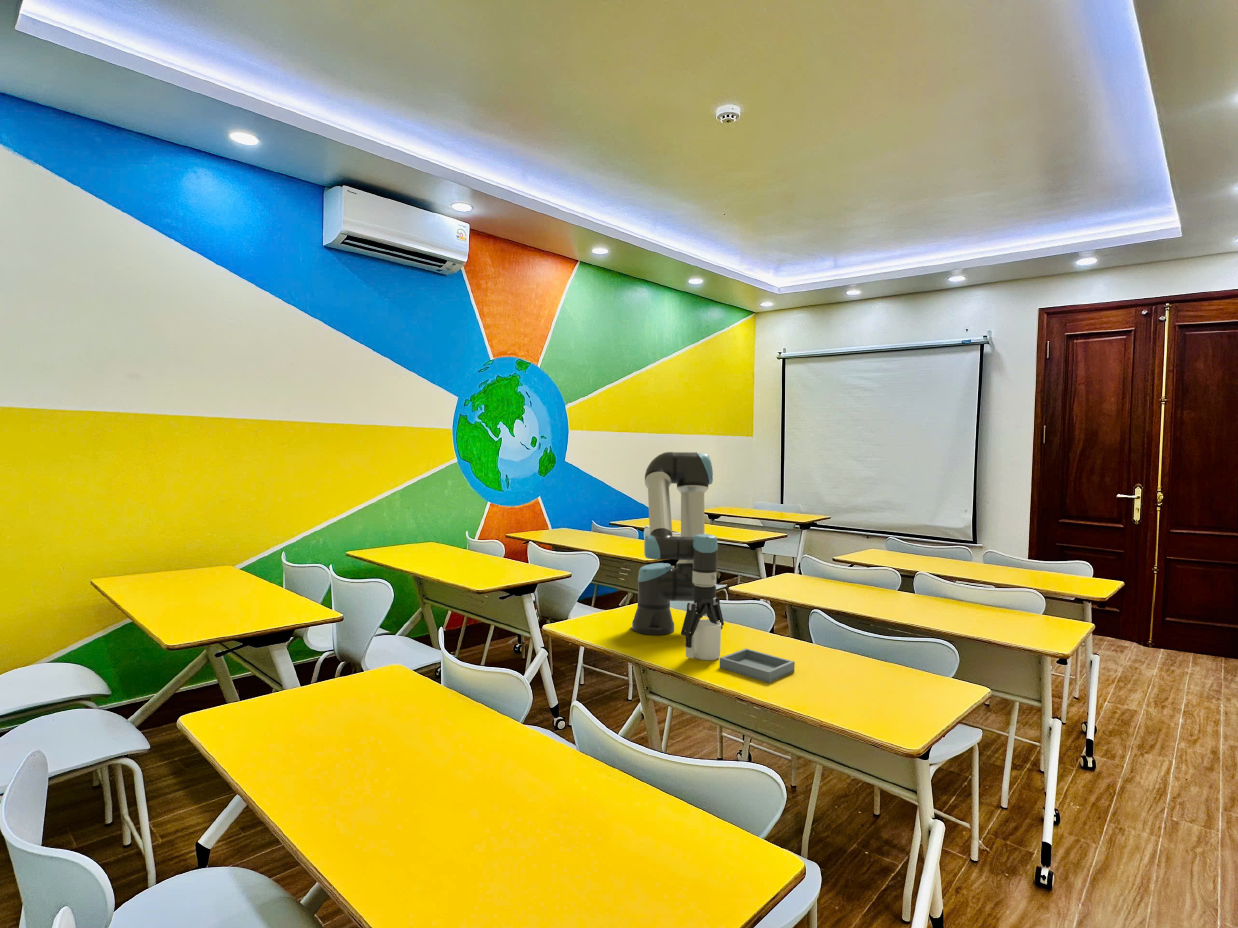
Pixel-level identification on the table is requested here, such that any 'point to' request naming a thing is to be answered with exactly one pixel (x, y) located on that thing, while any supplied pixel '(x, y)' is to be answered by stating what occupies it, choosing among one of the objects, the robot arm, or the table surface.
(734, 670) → the tray
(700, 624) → the mug
